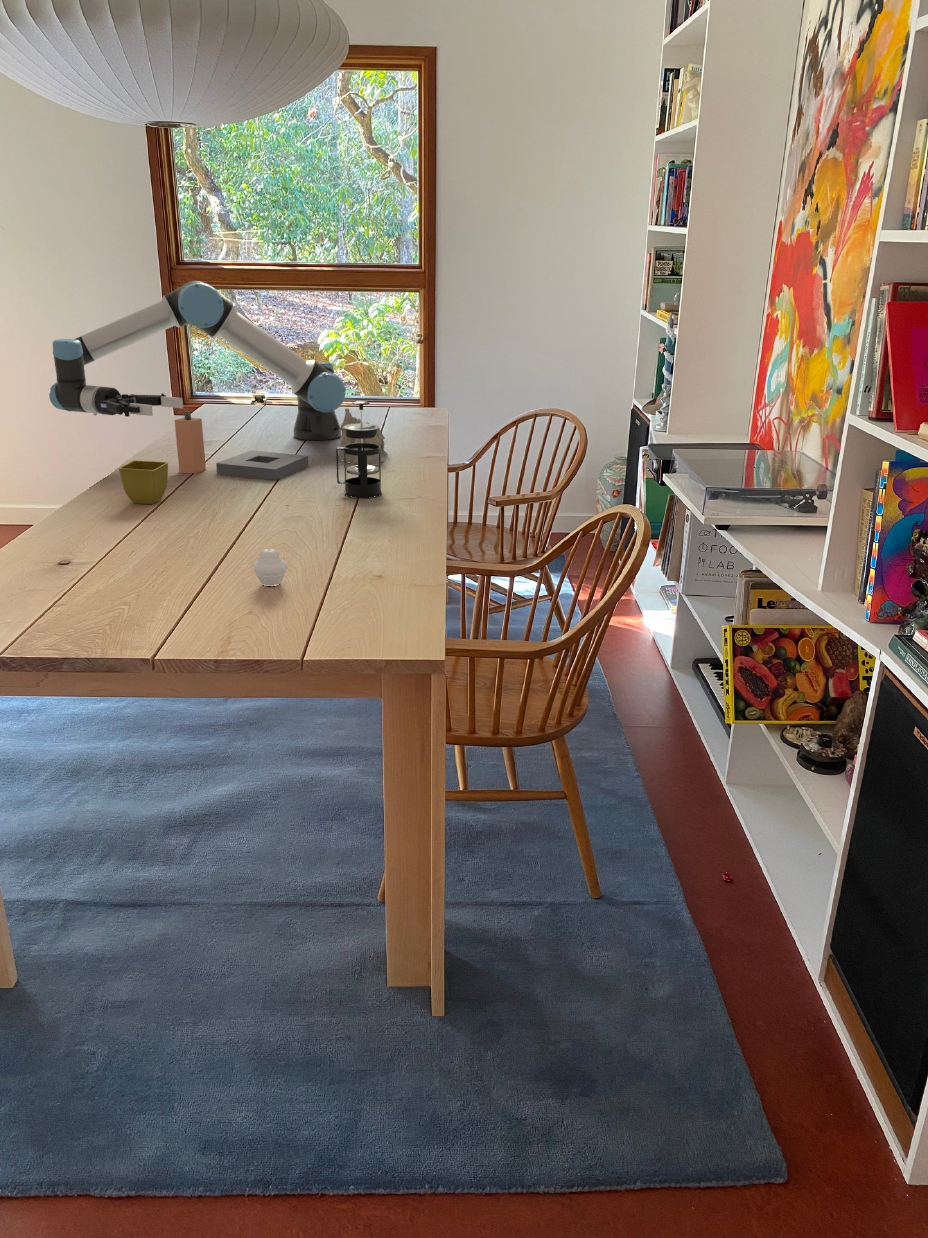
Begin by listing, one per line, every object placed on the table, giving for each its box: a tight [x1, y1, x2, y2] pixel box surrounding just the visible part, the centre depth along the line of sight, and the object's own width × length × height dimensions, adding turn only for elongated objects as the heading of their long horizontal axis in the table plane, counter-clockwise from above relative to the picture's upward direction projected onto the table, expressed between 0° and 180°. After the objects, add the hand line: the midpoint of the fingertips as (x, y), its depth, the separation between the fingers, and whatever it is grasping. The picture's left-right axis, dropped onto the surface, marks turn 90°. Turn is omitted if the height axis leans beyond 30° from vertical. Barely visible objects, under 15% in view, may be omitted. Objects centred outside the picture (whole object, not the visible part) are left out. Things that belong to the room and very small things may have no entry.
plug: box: [174, 410, 207, 475], centre depth 253 cm, size 5×5×16 cm
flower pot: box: [118, 460, 169, 505], centre depth 225 cm, size 9×9×9 cm
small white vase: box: [252, 548, 288, 585], centre depth 173 cm, size 6×6×7 cm
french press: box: [335, 400, 383, 499], centre depth 233 cm, size 12×9×23 cm
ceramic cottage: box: [338, 407, 389, 466], centre depth 272 cm, size 16×16×15 cm
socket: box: [215, 449, 309, 481], centre depth 258 cm, size 18×18×3 cm
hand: (167, 406), depth 255 cm, fingers open, 13 cm apart
